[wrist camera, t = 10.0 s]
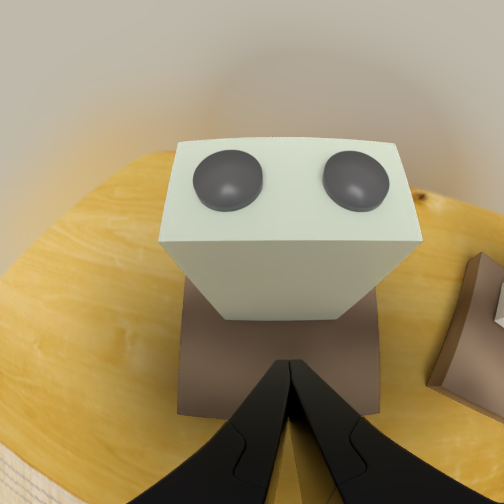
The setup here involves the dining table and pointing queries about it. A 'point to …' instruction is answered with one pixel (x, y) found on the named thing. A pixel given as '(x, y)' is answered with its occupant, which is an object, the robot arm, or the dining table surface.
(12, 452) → the dining table surface
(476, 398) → the plinth
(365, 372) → the plinth
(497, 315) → the tile one
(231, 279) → the tile two
